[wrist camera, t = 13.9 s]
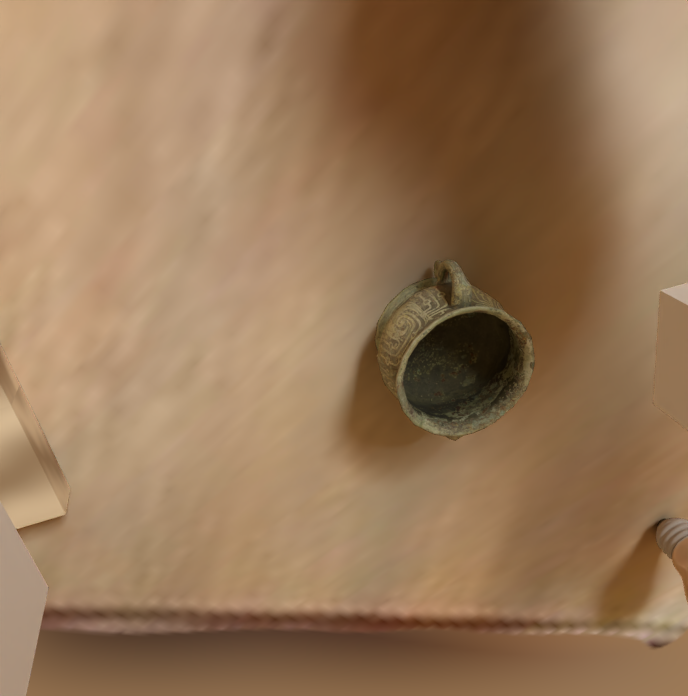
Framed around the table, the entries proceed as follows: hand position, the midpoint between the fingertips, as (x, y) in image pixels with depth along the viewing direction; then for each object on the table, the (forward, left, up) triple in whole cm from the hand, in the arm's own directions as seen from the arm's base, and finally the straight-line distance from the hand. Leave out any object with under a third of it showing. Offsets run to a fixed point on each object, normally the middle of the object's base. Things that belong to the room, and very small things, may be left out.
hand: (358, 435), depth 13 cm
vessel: (+13, +10, -27) cm, 31 cm away
